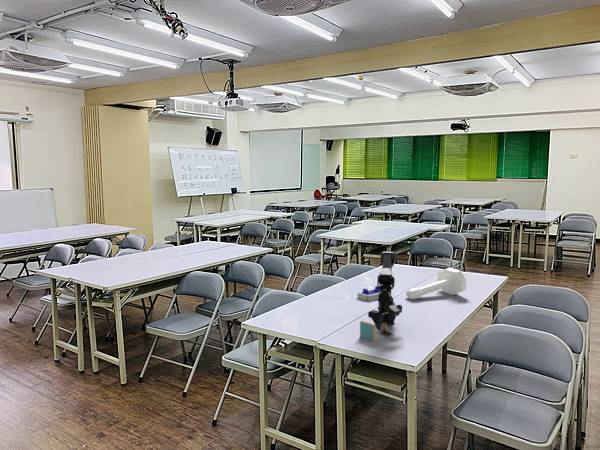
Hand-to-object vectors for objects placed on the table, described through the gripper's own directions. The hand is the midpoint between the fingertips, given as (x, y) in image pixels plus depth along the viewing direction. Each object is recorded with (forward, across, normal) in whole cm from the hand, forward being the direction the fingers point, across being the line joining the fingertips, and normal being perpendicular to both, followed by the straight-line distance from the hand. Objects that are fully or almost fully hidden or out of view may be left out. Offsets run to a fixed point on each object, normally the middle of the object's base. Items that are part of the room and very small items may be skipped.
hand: (384, 328), depth 231 cm
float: (+3, 0, 0) cm, 3 cm away
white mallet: (+3, +77, +25) cm, 81 cm away
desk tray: (+3, +42, +50) cm, 65 cm away
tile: (+3, -11, 0) cm, 12 cm away
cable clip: (+3, +42, +50) cm, 66 cm away
